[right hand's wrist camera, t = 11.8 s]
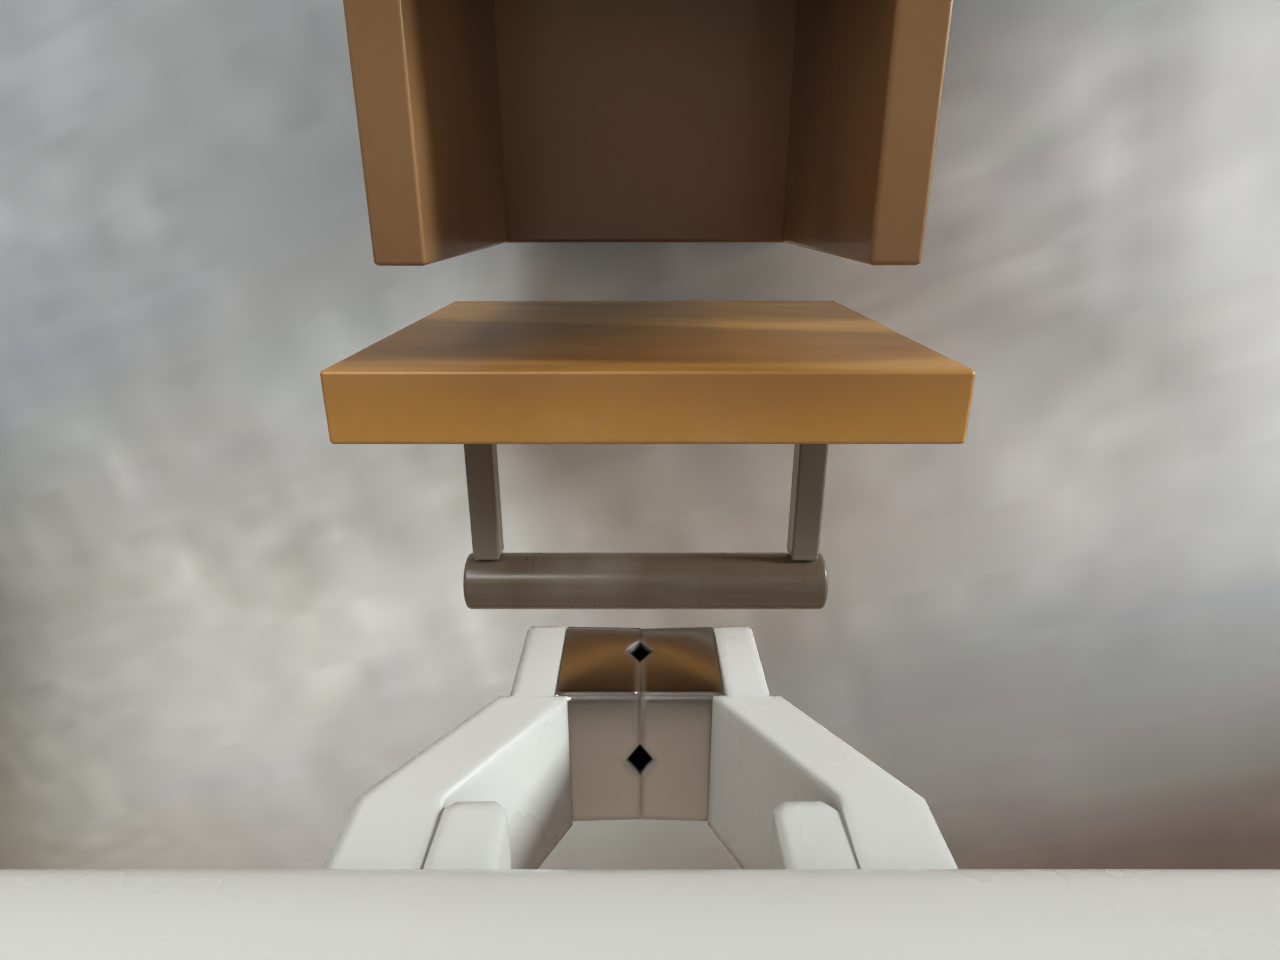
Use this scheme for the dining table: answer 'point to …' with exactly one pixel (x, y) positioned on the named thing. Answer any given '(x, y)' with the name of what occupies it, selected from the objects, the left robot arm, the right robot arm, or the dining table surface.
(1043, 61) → the dining table surface
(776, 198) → the drawer
